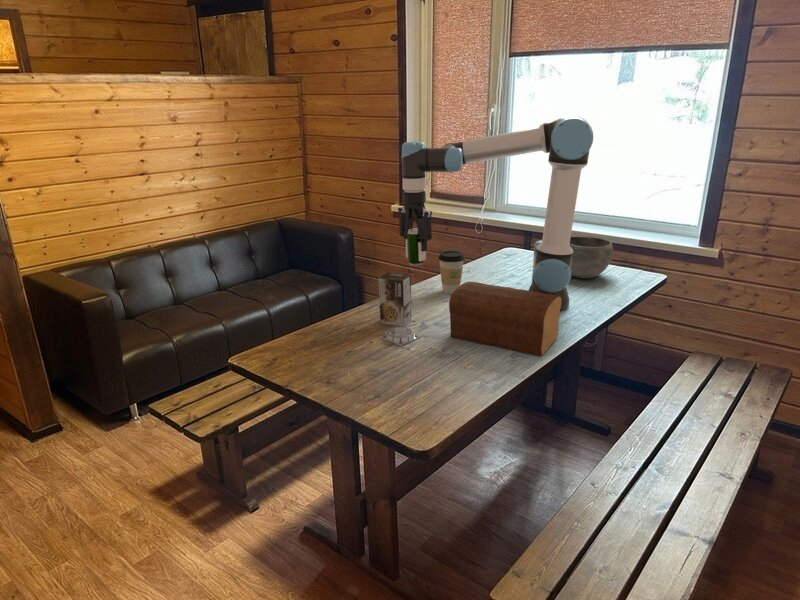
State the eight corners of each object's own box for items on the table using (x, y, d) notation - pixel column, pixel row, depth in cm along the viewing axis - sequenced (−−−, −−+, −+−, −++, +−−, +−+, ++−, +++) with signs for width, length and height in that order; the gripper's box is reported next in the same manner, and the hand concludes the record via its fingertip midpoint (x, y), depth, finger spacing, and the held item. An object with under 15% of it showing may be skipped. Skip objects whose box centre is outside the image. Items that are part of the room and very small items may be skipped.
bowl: (617, 284, 228) (621, 246, 222) (563, 284, 228) (566, 247, 223) (600, 268, 247) (604, 233, 242) (550, 268, 248) (553, 234, 242)
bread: (541, 359, 166) (545, 307, 161) (447, 339, 181) (448, 290, 175) (559, 337, 181) (563, 288, 175) (471, 319, 195) (472, 274, 190)
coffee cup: (464, 295, 217) (465, 257, 212) (438, 295, 218) (439, 257, 212) (462, 287, 227) (463, 249, 221) (437, 287, 227) (437, 250, 222)
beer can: (406, 265, 198) (405, 230, 193) (410, 261, 202) (409, 227, 198) (421, 266, 196) (420, 231, 192) (425, 262, 201) (424, 227, 197)
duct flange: (421, 337, 182) (421, 332, 181) (400, 346, 176) (400, 340, 175) (400, 329, 188) (400, 324, 187) (379, 337, 182) (379, 332, 181)
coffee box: (412, 320, 195) (411, 274, 189) (404, 327, 189) (403, 280, 184) (387, 316, 199) (386, 271, 193) (379, 323, 193) (378, 277, 188)
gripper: (442, 191, 187) (443, 260, 195) (402, 186, 199) (404, 252, 207) (426, 194, 182) (428, 265, 190) (386, 189, 194) (389, 256, 202)
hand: (415, 258), depth 199 cm, fingers closed on beer can, 5 cm apart
